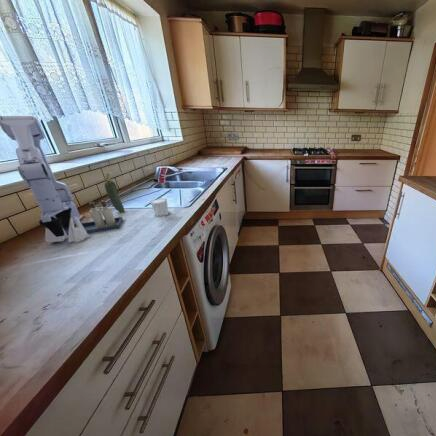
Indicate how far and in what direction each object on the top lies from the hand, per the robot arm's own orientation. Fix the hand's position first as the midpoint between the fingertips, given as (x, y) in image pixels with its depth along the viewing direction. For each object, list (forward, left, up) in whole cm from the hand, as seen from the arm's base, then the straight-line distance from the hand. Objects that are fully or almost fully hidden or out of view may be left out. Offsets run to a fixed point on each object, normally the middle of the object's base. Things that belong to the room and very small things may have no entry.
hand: (64, 231), depth 86 cm
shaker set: (0, 0, -5) cm, 5 cm away
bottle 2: (-8, +12, -4) cm, 15 cm away
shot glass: (-13, +32, -5) cm, 35 cm away
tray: (-8, +4, -5) cm, 10 cm away
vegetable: (-24, +13, -5) cm, 28 cm away
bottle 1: (-8, +9, -4) cm, 12 cm away
